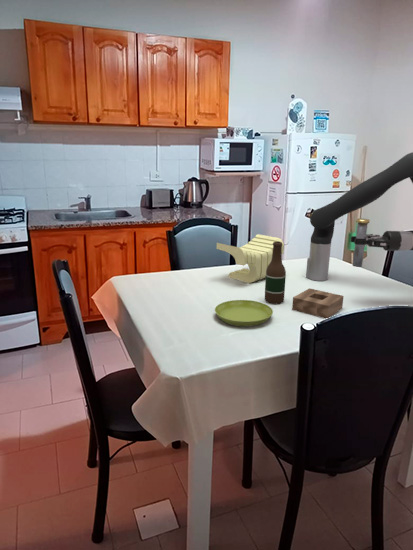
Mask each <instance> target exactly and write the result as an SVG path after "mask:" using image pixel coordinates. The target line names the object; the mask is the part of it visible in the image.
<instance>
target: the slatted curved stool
mask: <svg viewBox="0 0 413 550" xmlns="http://www.w3.org/2000/svg"><path fill="white" fill-rule="evenodd" d="M273 242H282V255H284V252H285V251H284V250H285V243H284V241H283V239H281V238H279V237H275V236H270V235H264V234H261V233H257V234H256V235H255V237H253V238H252V239H251V240H250V241H248V243H246V244H244V245H242V246H240V247H239V246H234V245H229V244H226V243H225V244H224V243H219V242H216V250H220V251H222V252H226V253H228V254H230V255H231V256H232V257H233V259H234V260H235V264H236V265H239V266H244V267H245V266H246V265H247V266H248V268H241V269H238V270H234V271H231V272H229V274H228V277H227V278H230V279H233V280H238V281H242V282H245V283H249V284H251V283H254V282H256V281H260V280H262V279H266V269H267V267H268V265H269V264H270V263H271V260H272V253H273Z"/></svg>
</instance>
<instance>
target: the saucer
mask: <svg viewBox="0 0 413 550" xmlns="http://www.w3.org/2000/svg"><path fill="white" fill-rule="evenodd" d="M214 312H215V314H216V316H217V317H218V318H219V319H220V320H221V321H223V322H224V323H226V324H228V325H230V326H231V325H232V326H235V327H256V326H259V325H262V324H264V323H266V322H267V321H269V319H270V318H271V317H272V316H273V313H274V310H273V308H272V307H270V305H268V304H266V303H263V302H261V301H255V300H252V299H251V300H250V299H249V300H247V299H234V300H228V301H224V302H221V303H219V304H217V305H216V306H215V307H214Z"/></svg>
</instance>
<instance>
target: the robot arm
mask: <svg viewBox="0 0 413 550" xmlns="http://www.w3.org/2000/svg"><path fill="white" fill-rule="evenodd" d="M407 179H410V182H411V183H412V184H413V151H412V152H410V153H407V154H405V155H403V156H402V157H401V158H400V159H398V160H397V161H395V162H394V163H393V164H391V165H390V166H389V167H387V168H385V169H384V170H382V171H380V172H378V173H377V174H375V175H373V176H371V177H369V178H368V179H366V180H364V181H362V182H361V183H359V184H357V185H356V186H354V187H353V188H351V189H349V190H348V191H346V193H344V194H342V195H341V196H340V197H338V198H337V199H335V200H333V201H332V202H330V203H328V204H326V205H324V206H321V207H319V208H317V209H315V210H314V211H313V212H312V213H311V215H310V216H309V218H310V219H309V221H310V222H309V223H310V224H311V226H312V228H313V232H312V234H311V236H310V245H309V247H310V248H309V257H307V261H306V270H305V271H306V272H305V273H306V274H305V278H306V279H309V280H311V281H317V282H318V281H319V282H323V281H327V280H328V278H329V268H330V260H331V258H330V257H331V247H332V240H333V237H334V233H335V224H336V221H337V220H338V219H339V218H341V217H343V216H345V215H347V214H350V213H353V212H355V211H357V210H360V209H361V208H364V207H366V206H367V205H369V204H372V203H373V202H376V201H377V200H378V199H380V198H381V197H382V196H383V195H385V193H387V192H388V190H390V189H391V188H392V187H394V186H395V185H397V184H398V183H400V182H402V181H404V180H407ZM350 242H351V243H354V245H355V244H356V245H365V246H368V247H371V248H381V249H383V250H384V251H387V252H389V251H391V252H395V251H397V252H400V251H401V252H402V251H403V252H405V251H413V231H405V230H385V231H384V232H383V234H382V235H380V234H373V233H369V234H368V233H366V240H365V239H357V238H356V235H355V236H353V235H351V236H350Z"/></svg>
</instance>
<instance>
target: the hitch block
mask: <svg viewBox="0 0 413 550" xmlns="http://www.w3.org/2000/svg"><path fill="white" fill-rule="evenodd" d="M343 304H344V295H341V294H337V293H332V292H328V291H325V290H319V289H314V288H307V289H306V290H304V291H302V292H300V293H298V294H296V295H294V296H293V297H292V305H291V306H292V307H291V311H295V312H299V313H301V314H302V313H303V314H307V315H310V316H311V315H312V316H314V317H318V318H322V319H326V318H328V319H329V317H330V318H331V317H332V316H335V314H337V312H339V311H340V310H342V309H343V307H344V305H343ZM326 320H327V319H326Z"/></svg>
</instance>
